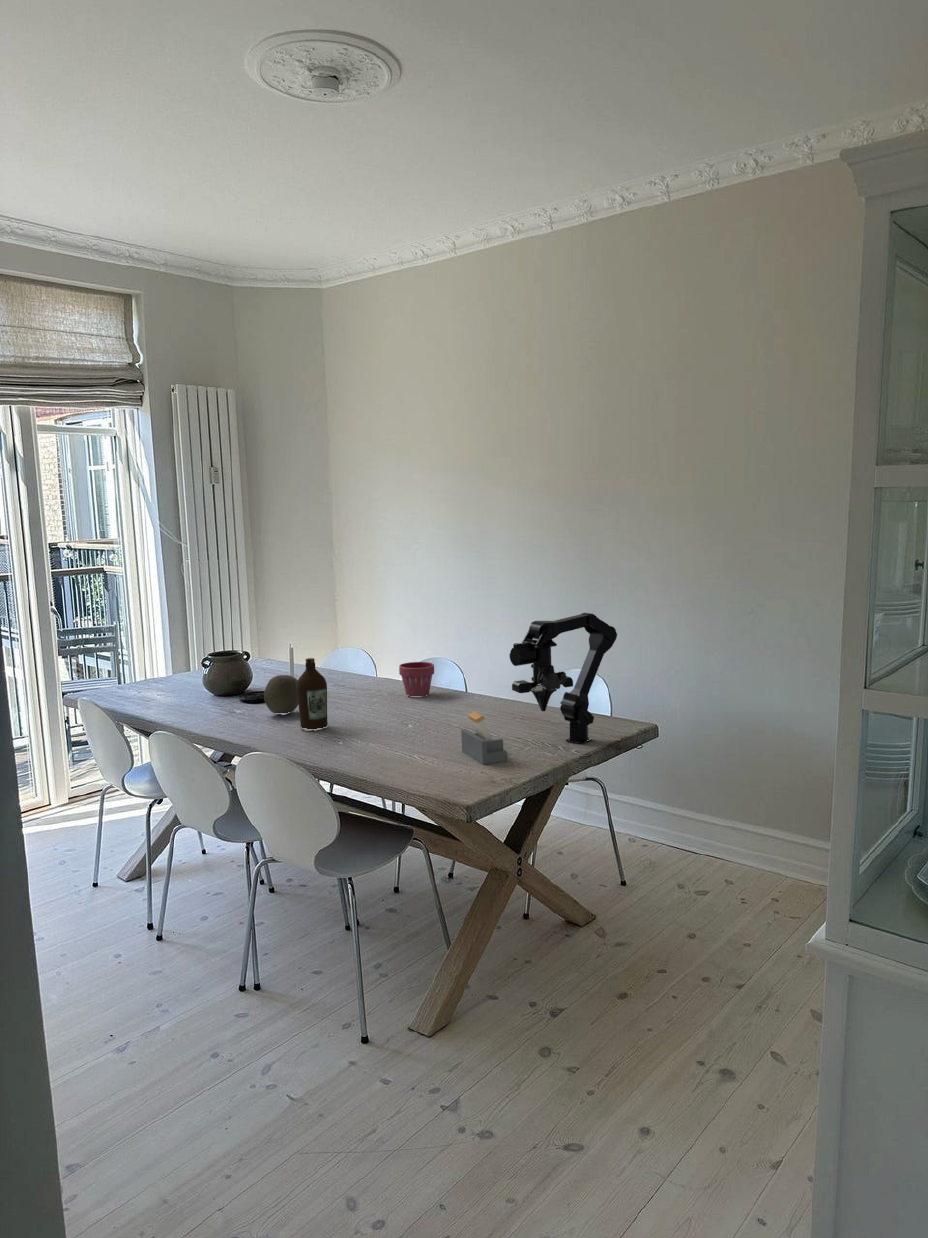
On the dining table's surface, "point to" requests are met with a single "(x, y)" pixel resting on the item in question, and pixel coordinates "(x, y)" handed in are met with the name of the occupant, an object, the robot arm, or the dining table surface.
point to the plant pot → (417, 677)
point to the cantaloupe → (281, 694)
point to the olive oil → (312, 697)
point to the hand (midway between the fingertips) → (543, 711)
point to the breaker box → (482, 748)
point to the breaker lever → (480, 725)
